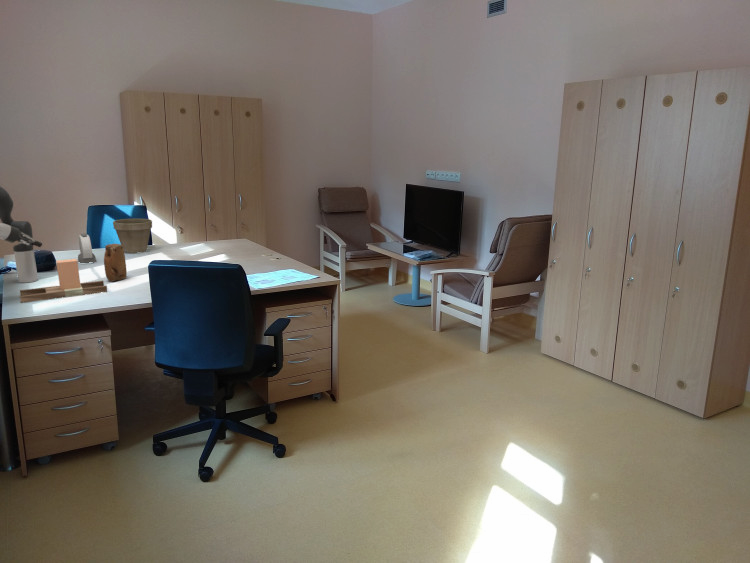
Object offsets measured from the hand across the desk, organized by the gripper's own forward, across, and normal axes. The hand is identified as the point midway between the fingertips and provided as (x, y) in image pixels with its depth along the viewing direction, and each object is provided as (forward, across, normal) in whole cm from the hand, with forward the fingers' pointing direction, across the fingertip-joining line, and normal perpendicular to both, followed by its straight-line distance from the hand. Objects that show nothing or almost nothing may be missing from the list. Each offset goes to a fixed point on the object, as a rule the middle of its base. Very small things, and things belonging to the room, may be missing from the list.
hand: (40, 244), depth 281 cm
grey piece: (+55, +50, +15) cm, 76 cm away
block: (+42, -6, +2) cm, 43 cm away
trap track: (+14, -17, +15) cm, 27 cm away
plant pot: (+88, +62, 0) cm, 108 cm away
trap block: (+15, -17, +11) cm, 26 cm away
